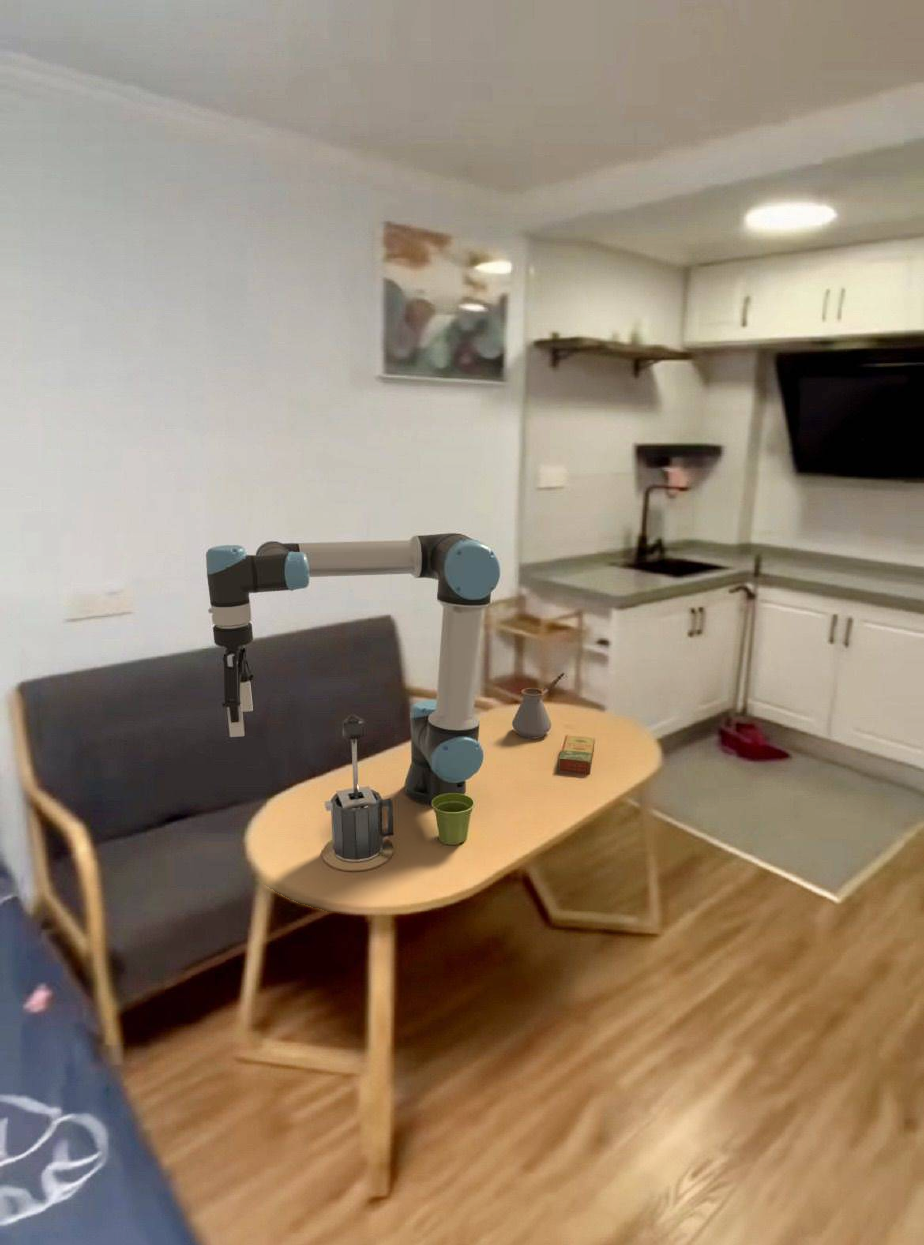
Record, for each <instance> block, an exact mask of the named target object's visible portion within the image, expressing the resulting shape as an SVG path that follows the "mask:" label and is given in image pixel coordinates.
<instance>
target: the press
mask: <svg viewBox="0 0 924 1245" xmlns="http://www.w3.org/2000/svg"><path fill="white" fill-rule="evenodd" d="M358 795H359V798H360V799H355V800H350V799H354V791H353V787H352V788H346V789H340V790H336V793H334V795H333V796H332V798H331V799H330V800H326V801H324V807H325V811H326V812H330V813H331V814H330V816H331V818H330V819H331V820H330V821H331V837H332V838H331V840H329V841H328V842H327V843H326V844H325V845H324V847H323V849H322V852H321V853H322V854H321V855H322V859H323V862H324V863H325V864H326V865H327V866H329V867H330V868H332V869H334V870H337V871H342V872H346V873H348V872H349V873H359V872H367V871H371V870H374V869H377V868H380V867H381V866H383V865H385V864H387V863H388V862H389V860H391V858H392V856H394V844H393V843H392V841H391V840H390V839H389V838H388V837H393V836H395V829H394V828H395V826H394V824H395V821H394V800H393V798H392V797H390V798H389V797H388V798H382V796H381V794H380V792H378V791H376V790H373V789H371V788H370V786H369V785H367V786H362V787H358ZM340 805H341V807H340ZM369 805H371V806H369ZM363 806H369V807H366V808H361V809H350V808H356V807H363ZM383 808H386V812H387V813H386V816H387V817H386V818H387V819H386V821H387V823H386V825H387V828H383V825H384V824H383Z"/></svg>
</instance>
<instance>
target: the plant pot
mask: <svg viewBox="0 0 924 1245" xmlns="http://www.w3.org/2000/svg"><path fill="white" fill-rule="evenodd" d="M430 805H431V807H432V808H433V812H434V814H435V819H436V825H437V830H438V832H437V833H438V838H439V841H441V842H443V843H444V844H447V845H449V846H450V845H453V846H455V845H459V844H460V843H461V844H462V843H465V841H467V839H468V834H469V833H468V832H469V827H470V822H471V821H470V819H471V813H472V812H473V808H475V800H474V798H472V797H471V796H470V795H467V794H466V793H465V794H460V793H446V794H442V795H439V796H437V797H435V798H434V799H433V800H432V802H431V804H430Z"/></svg>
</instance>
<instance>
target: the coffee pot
mask: <svg viewBox="0 0 924 1245" xmlns="http://www.w3.org/2000/svg"><path fill="white" fill-rule="evenodd" d="M564 676H566V677H568V675H567V674H566V673H565V672H561V674H560V675H557V678H555V679H554V680H552V682H551V683H550V684H549V685H548V686H547V687H546V689H545V690H543V689H540V688H537V687H528V688H523V689H522V690H521V691H520V692H521V694H522V696H523V698H522V700H521V702H520V705H519V707H518V709H517V710H516V713H515V715H514V717H513V719H512V723H511V725H512V728H513V729H514V731H515V732H516V733H518V735H519V736H521V737H524V738H528V739H537V738H538V739H539V738H541V737H543V736H545V734H547V733H548V732H549V731H550V729H551V728H552V721H551V719H550V716H549V714H548V712H547V709H546V707H545V704H544V702H543V699H542V698H543V697H544V696H545V695H546V694H547V693H548V692H549V691H550V690H551V689H552V688H553V687H555V686H556V685H557V683H558V682H559V680H561V679H562V678H563V679H565V677H564Z"/></svg>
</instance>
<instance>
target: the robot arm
mask: <svg viewBox="0 0 924 1245" xmlns="http://www.w3.org/2000/svg"><path fill="white" fill-rule="evenodd" d="M205 562H206V579H207V586H208V587H207V588H208V592H209V601H210V608H208V609H207V611H208V614H211V620H212V621H211V622H212V624H213V625H214V626H213V627H212V633H213V641H214V644H215V645H216V646H218V647H223V648H225V649H226V650H225V653H224V654H223V656H222V657H223V658H222V661H223V672H224V673H223V682H224V691H223V692H224V702H223V703H222V704H221V705H222V708H226V709H227V719H228V720H227V721H228V729H229V730H228V731H229V737H230V738H232V737H233V738H235V737H236V738H237V737H244V736H245V723H244V715H243V712H253V709H254V708H253V707H254V706H253V697H252V687H251V681H254V674H252V671H251V667H250V661H249V656H248V652H247V645H248V644H250V643H251V642H253V640H254V636H253V635H254V633H253V625H252V623H251V621H252V619H253V618H252V608H251V601H250V594H252V593H253V594H256V593H257V594H258V593H267V592H268V593H269V592H282V591H290V592H292V591H295V590H301V589H306V588H307V587H308V586H309V585H310V578H325V577H349V576H353V577H354V576H378V575H379V576H382V575H407V574H408V575H409V574H410V575H412V576H413V577H414V578H415V579H425V578H426V579H432V580H436V581H437V591H436V601H438V603H439V604H440V605H441V606H442V618H441V621H442V622H441V633H440V634H441V635H440V647H439V658H438V660H439V661H438V662H439V663H438V674H437V675H438V676H437V685H436V687H437V689H436V699H427V700H421V701H419V702H415V703H414V704H413V705H412V706H411V708H410V716H409V719H410V753H411V758H410V760H411V763H410V765H409V768H408V770H407V771H408V772H407V774H406V777H405V780H404V792H405V793H404V794H405V795H406V796H407V797H408V798H409V799H411V801H415V802H417V803H421V804H424V805H425V804H428V805H432V804H431V802H432V800H433V799H434V798H435V797H437V796H439V795H442V794H446V793H460V794H465V795H466V791H467V789H466V788H467V787H466V786H467V782H466V781H467V780H469V779H471V778H472V777H473V776H474V775H476V774H477V773H478V772H479V770H480V768H482V765H483V763H484V762H483V761H484V756H485V755H484V751H483V748H482V745H481V743H480V742H479V734H480V733H479V732H480V722H481V721H480V719H479V718H478V716H477V715H476V714H475V712H474V711H475V700H476V689H477V678H478V677H477V676H478V666H479V656H480V654H479V653H480V646H481V645H480V643H481V632H482V622H483V611H484V610H485V609H486V608H487V607H488V606H489V605H490V604H491V598H492V592H493V591H494V590H495V589H496V587H497V586H498V584H499V581H500V576H501V567H500V566H501V565H500V562H499V558H498V557H497V555H496V554H495V553H494V551H493V550H492V549H490V548H489V546H488V545H487V544H485V543H483V542H482V541H480V540H477V539H473V538H471V537H469V536H466V535H465V534H461V533H456V532H452V533H451V532H446V533H439V534H438V533H436V534H425V535H412V537H411V538H410V539H407V540H373V541H372V540H369V541H366V540H365V541H334V542H333V541H332V542H331V541H329V542H328V541H327V542H326V541H324V542H323V541H321V542H295V543H293V542H289V543H288V542H287V543H282V542H279V541H277V540H276V541H274V540H270V541H269V540H268V541H266V542H263V543H262V544H261V545H260V546H259V547H258V548H257V550H256V552H255V554H254V555H253V554H252V555H251V554H247V552H246V549H245V547H244V546H241V545H238V544H237V545H236V544H233V545H231V544H227V545H226V544H225V545H218V546H214V547H211V548H208V550H207V551H206V553H205Z"/></svg>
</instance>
